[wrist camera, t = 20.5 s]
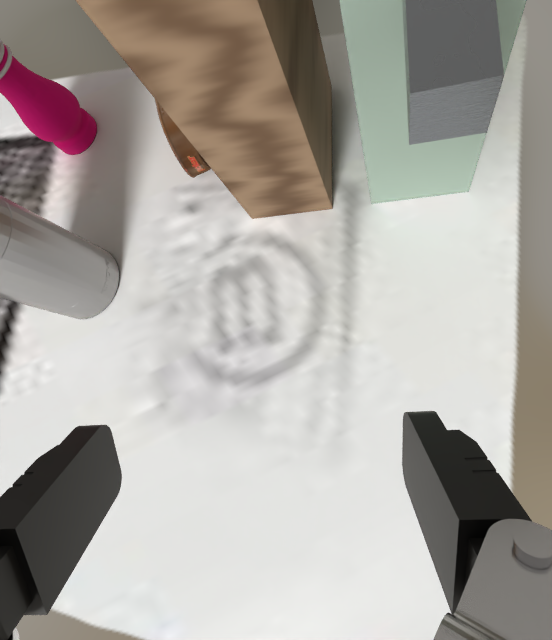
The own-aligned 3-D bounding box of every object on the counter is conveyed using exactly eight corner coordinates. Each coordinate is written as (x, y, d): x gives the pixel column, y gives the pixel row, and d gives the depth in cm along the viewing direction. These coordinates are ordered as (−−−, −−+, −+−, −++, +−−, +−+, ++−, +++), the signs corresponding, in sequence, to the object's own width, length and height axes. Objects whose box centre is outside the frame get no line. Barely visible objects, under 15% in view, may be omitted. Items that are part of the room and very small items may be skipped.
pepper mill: (65, 113, 57) (-98, -28, 38) (105, 110, 55) (-48, -42, 36) (53, 159, 56) (-122, 36, 37) (93, 158, 54) (-72, 25, 35)
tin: (176, 96, 51) (135, 40, 44) (197, 84, 51) (159, 26, 43) (200, 192, 47) (160, 149, 39) (224, 181, 46) (187, 135, 39)
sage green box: (371, 203, 40) (334, -31, 19) (367, 78, 43) (332, -248, 22) (468, 191, 38) (556, -100, 16) (457, 58, 41) (518, -336, 19)
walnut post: (252, 218, 44) (-103, -220, 13) (256, 102, 47) (-23, -474, 16) (332, 208, 41) (123, -372, 11) (331, 86, 45) (167, -641, 14)
